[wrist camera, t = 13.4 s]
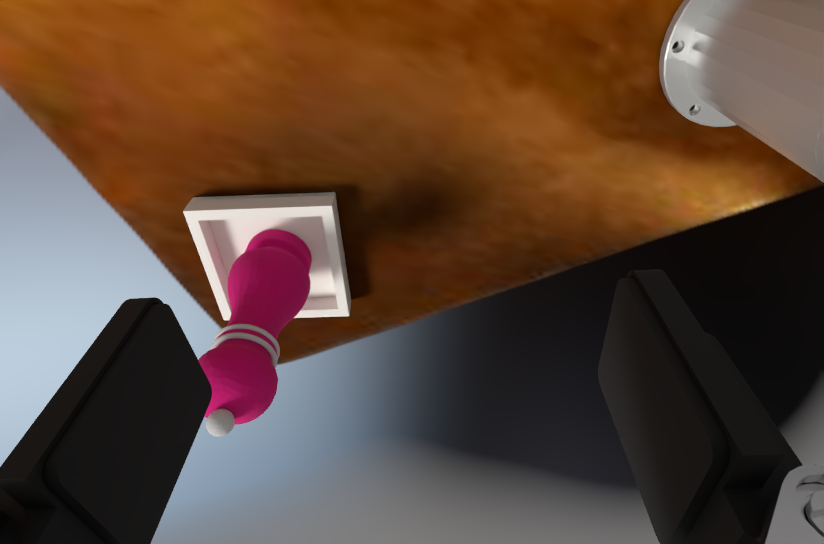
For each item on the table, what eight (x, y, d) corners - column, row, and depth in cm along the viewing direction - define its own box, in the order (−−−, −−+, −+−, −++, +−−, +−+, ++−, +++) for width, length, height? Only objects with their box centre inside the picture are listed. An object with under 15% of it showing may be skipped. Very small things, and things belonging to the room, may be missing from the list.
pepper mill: (239, 220, 45) (147, 394, 29) (317, 228, 45) (270, 403, 29) (244, 280, 49) (168, 460, 33) (316, 287, 50) (274, 467, 34)
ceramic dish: (335, 192, 44) (331, 205, 42) (351, 300, 52) (349, 316, 50) (193, 197, 44) (183, 211, 42) (230, 304, 52) (223, 320, 50)
